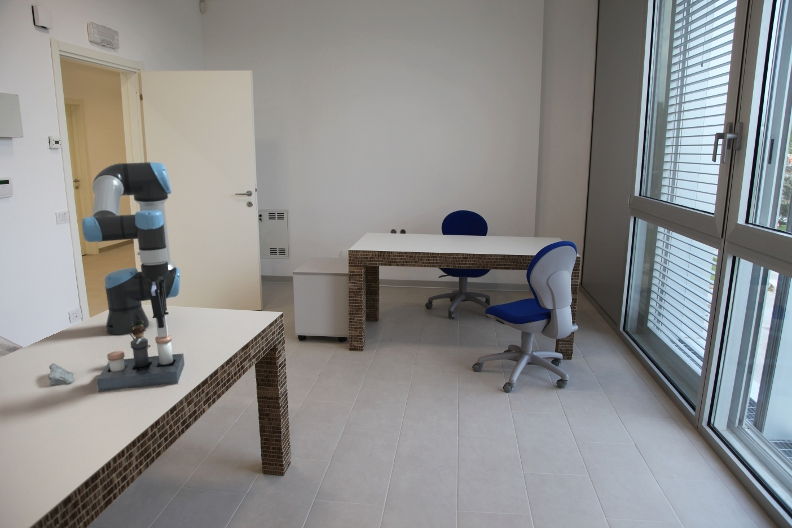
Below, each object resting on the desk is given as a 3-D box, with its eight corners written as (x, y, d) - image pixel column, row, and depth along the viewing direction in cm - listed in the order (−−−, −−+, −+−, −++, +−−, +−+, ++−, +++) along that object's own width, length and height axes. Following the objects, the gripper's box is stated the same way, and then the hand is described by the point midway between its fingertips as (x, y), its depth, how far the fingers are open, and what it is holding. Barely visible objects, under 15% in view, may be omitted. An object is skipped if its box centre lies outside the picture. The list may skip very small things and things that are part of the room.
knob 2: (159, 359, 166) (156, 335, 164) (175, 358, 167) (172, 333, 165) (156, 365, 162) (153, 340, 160) (172, 364, 163) (169, 339, 161)
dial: (135, 361, 165) (132, 338, 163) (151, 360, 166) (149, 336, 164) (131, 368, 160) (128, 343, 158) (148, 366, 161) (145, 342, 159)
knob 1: (113, 376, 164) (109, 351, 162) (129, 374, 165) (125, 350, 163) (108, 382, 160) (105, 357, 158) (125, 381, 161) (121, 356, 159)
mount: (111, 372, 168) (109, 360, 167) (184, 364, 173) (183, 353, 172) (98, 391, 155) (96, 379, 154) (177, 383, 160) (176, 371, 159)
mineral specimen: (74, 372, 171) (72, 359, 170) (74, 383, 161) (73, 370, 160) (50, 376, 167) (49, 363, 167) (49, 388, 157) (47, 374, 157)
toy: (145, 365, 173) (139, 322, 169) (130, 364, 174) (124, 321, 170) (157, 358, 179) (152, 316, 175) (142, 357, 180) (137, 315, 176)
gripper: (145, 258, 162) (154, 330, 168) (135, 267, 150) (145, 345, 155) (171, 257, 164) (179, 328, 169) (163, 266, 152) (172, 342, 157)
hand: (163, 336), depth 162 cm, fingers closed
